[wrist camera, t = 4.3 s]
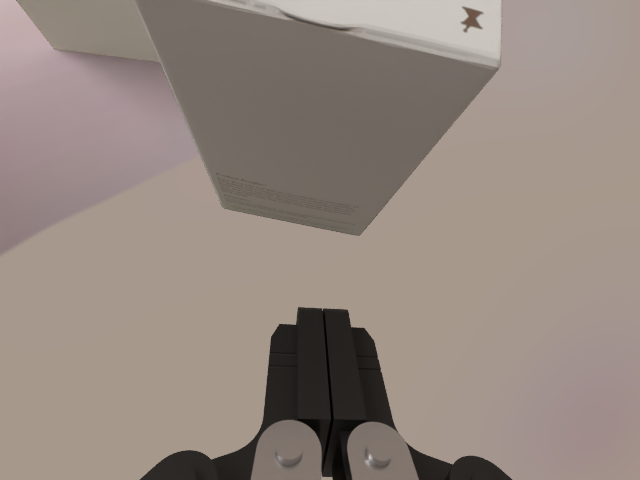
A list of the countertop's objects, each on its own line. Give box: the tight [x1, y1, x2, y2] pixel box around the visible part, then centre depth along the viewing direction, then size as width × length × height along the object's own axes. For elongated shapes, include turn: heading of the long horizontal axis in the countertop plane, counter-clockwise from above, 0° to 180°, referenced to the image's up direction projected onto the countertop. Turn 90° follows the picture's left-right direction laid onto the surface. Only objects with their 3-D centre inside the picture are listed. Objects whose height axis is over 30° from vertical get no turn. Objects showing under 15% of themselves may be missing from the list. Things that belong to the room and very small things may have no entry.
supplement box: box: [132, 0, 503, 235], centre depth 16 cm, size 9×9×15 cm
